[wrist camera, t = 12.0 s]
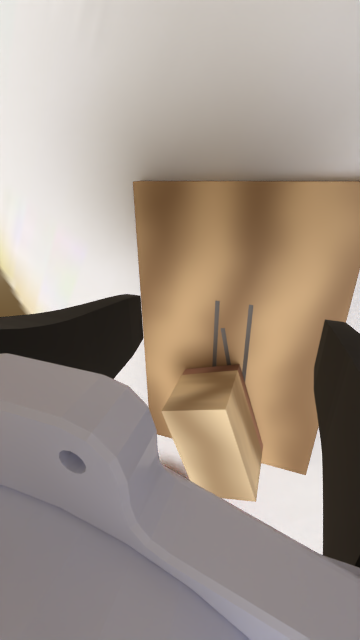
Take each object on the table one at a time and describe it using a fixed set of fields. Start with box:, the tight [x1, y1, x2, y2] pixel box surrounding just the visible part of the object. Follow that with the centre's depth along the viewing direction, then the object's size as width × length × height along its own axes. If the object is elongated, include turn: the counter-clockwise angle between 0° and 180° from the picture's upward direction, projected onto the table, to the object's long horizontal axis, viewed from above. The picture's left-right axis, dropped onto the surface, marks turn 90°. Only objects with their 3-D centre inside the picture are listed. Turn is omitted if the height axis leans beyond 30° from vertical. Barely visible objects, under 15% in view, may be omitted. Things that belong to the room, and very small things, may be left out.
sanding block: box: [162, 364, 263, 502], centre depth 23 cm, size 4×8×5 cm, turn 18°
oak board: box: [133, 181, 360, 475], centre depth 23 cm, size 14×22×1 cm, turn 0°
